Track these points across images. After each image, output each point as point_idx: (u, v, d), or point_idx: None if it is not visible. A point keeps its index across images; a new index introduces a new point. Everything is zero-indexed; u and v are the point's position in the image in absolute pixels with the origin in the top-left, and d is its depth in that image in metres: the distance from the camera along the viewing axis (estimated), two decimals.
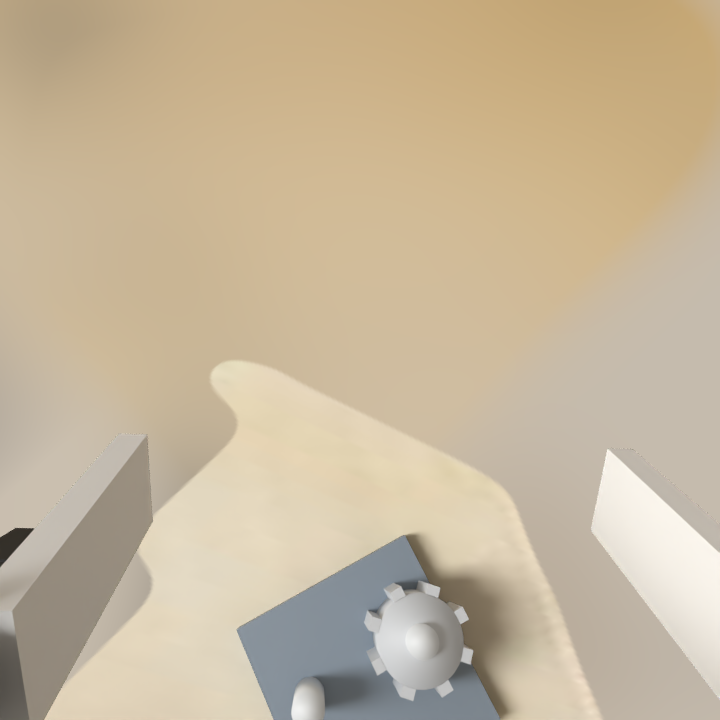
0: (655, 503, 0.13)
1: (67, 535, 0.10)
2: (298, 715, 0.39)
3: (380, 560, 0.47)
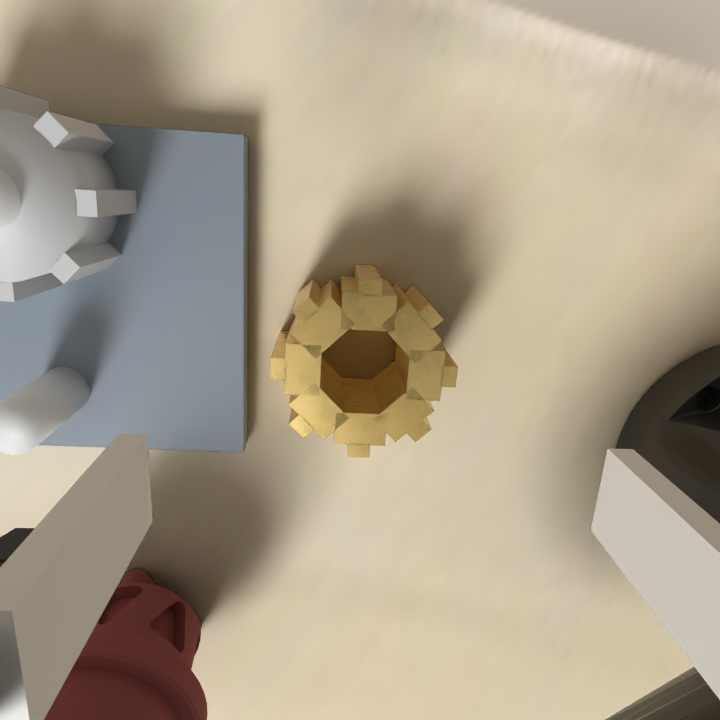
0: (655, 503, 0.13)
1: (67, 535, 0.10)
2: (11, 444, 0.23)
3: None
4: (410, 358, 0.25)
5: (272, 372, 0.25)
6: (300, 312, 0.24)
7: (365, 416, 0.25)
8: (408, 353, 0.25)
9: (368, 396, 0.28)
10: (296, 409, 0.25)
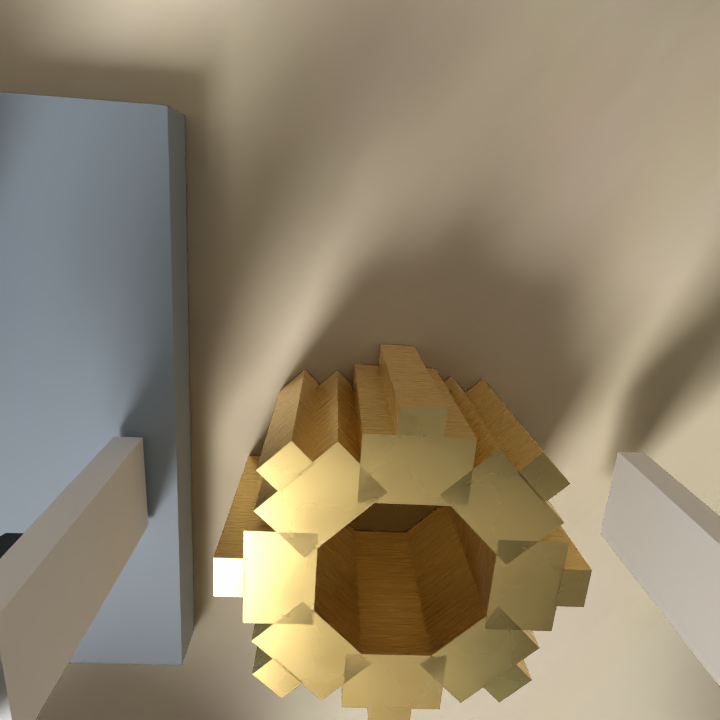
0: (668, 507, 0.13)
1: (55, 541, 0.10)
2: None
3: None
4: (497, 555, 0.12)
5: (217, 583, 0.12)
6: (273, 471, 0.11)
7: (403, 659, 0.13)
8: (494, 547, 0.12)
9: (404, 590, 0.15)
10: (267, 648, 0.13)
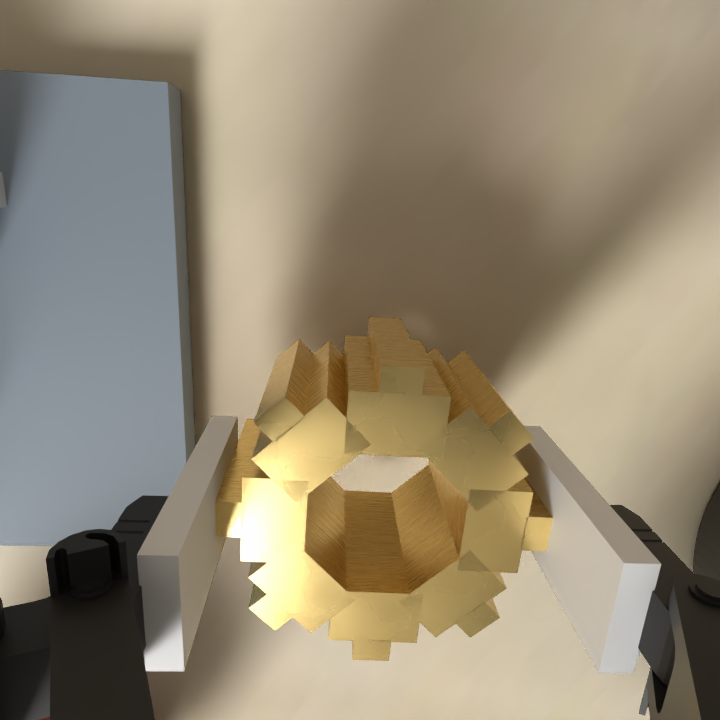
0: (545, 472, 0.14)
1: (200, 498, 0.12)
2: None
3: None
4: (469, 503, 0.14)
5: (218, 525, 0.14)
6: (269, 423, 0.13)
7: (383, 596, 0.14)
8: (466, 495, 0.14)
9: (387, 540, 0.16)
10: (262, 585, 0.14)
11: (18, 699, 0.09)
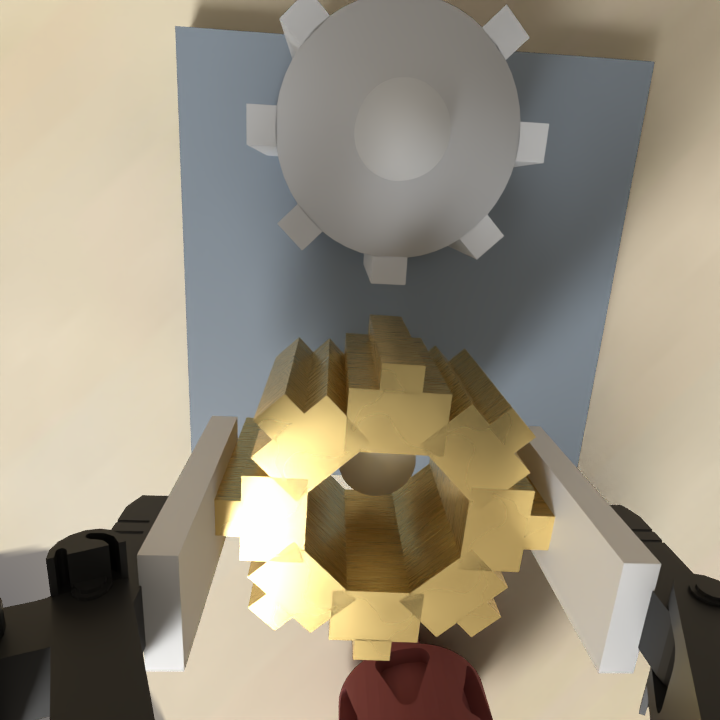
0: (545, 472, 0.14)
1: (200, 498, 0.12)
2: (372, 481, 0.17)
3: (203, 125, 0.18)
4: (470, 502, 0.14)
5: (217, 524, 0.13)
6: (268, 421, 0.13)
7: (384, 595, 0.14)
8: (467, 494, 0.13)
9: (388, 539, 0.16)
10: (261, 584, 0.14)
11: (18, 699, 0.09)
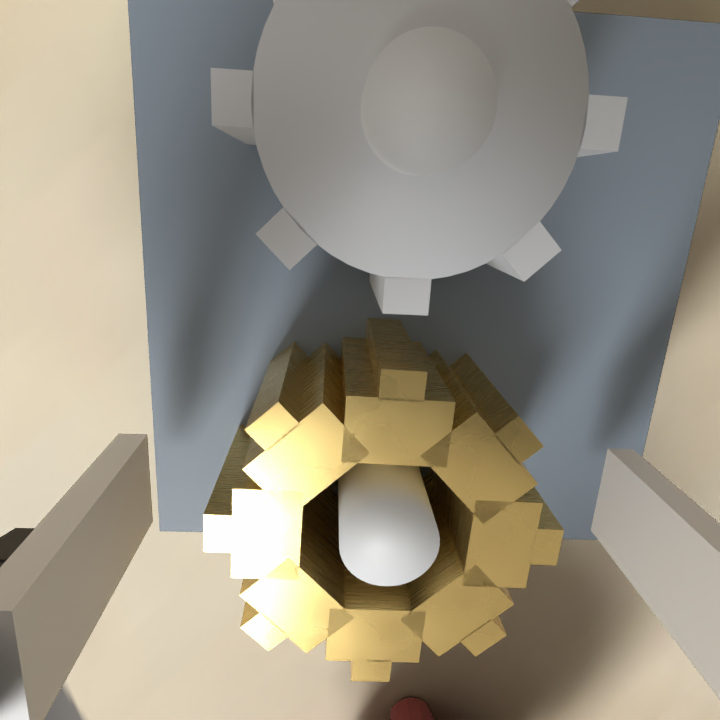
0: (655, 503, 0.13)
1: (67, 535, 0.10)
2: (383, 568, 0.13)
3: (165, 105, 0.14)
4: (474, 515, 0.13)
5: (207, 539, 0.13)
6: (261, 431, 0.12)
7: (384, 614, 0.14)
8: (471, 507, 0.13)
9: None
10: (254, 603, 0.13)
11: None
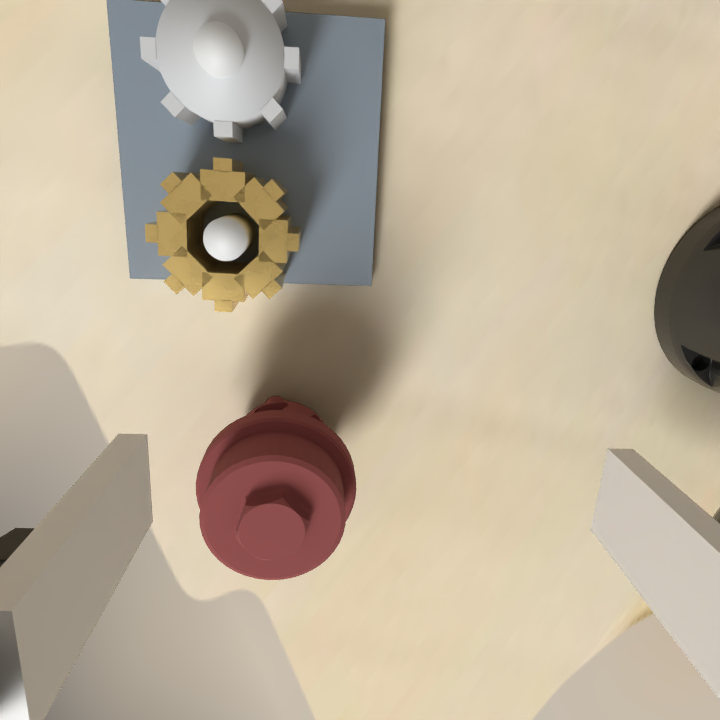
0: (655, 503, 0.13)
1: (67, 535, 0.10)
2: (223, 251, 0.31)
3: (125, 56, 0.32)
4: (259, 226, 0.31)
5: (147, 236, 0.30)
6: (166, 184, 0.30)
7: (226, 275, 0.31)
8: (257, 221, 0.31)
9: (236, 268, 0.34)
10: (169, 269, 0.31)
11: None
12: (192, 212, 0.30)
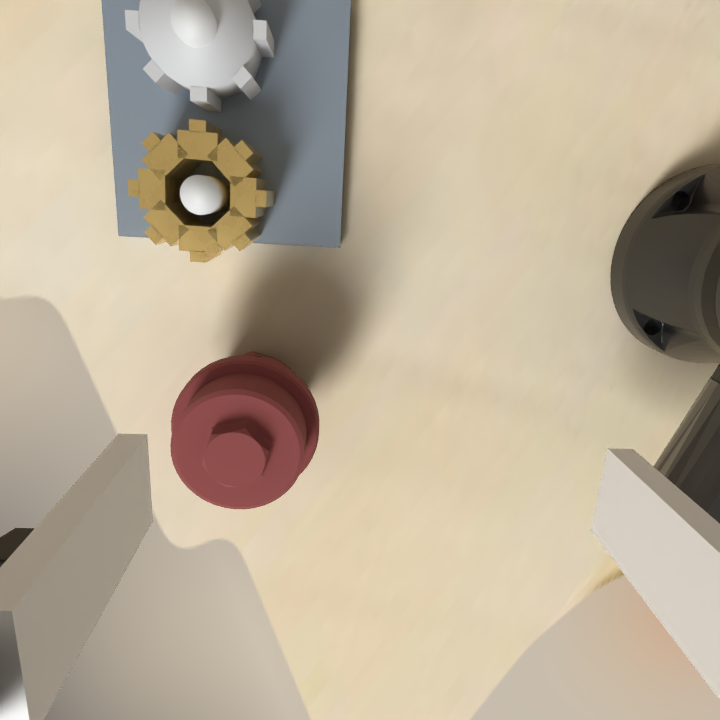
0: (655, 503, 0.13)
1: (67, 535, 0.10)
2: (198, 206, 0.34)
3: (116, 31, 0.36)
4: (230, 183, 0.34)
5: (129, 190, 0.34)
6: (147, 143, 0.33)
7: (200, 228, 0.35)
8: (228, 178, 0.34)
9: (212, 224, 0.37)
10: (149, 221, 0.34)
11: None
12: (170, 169, 0.34)
